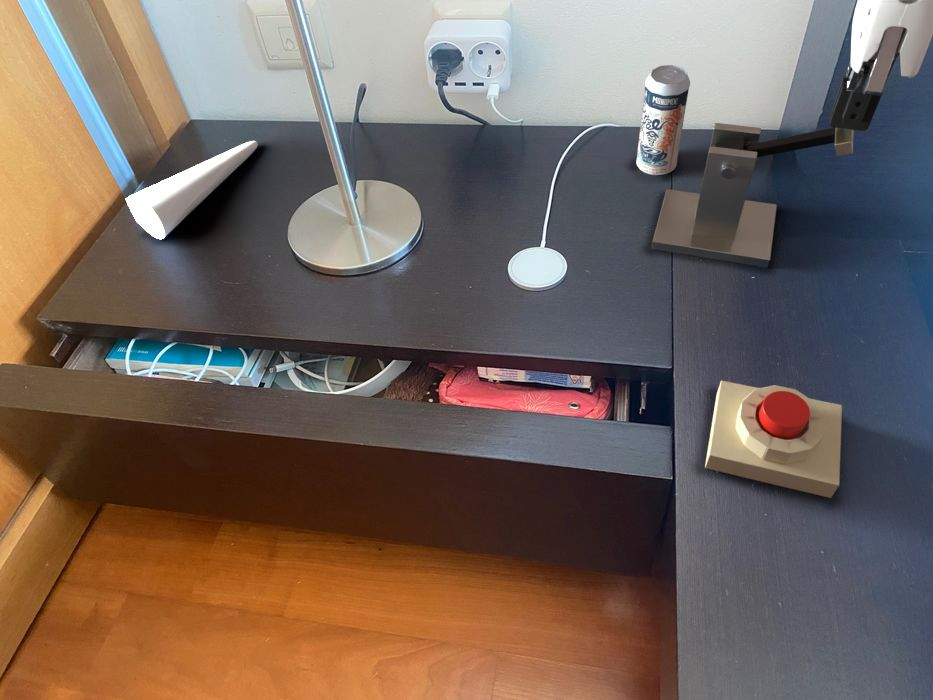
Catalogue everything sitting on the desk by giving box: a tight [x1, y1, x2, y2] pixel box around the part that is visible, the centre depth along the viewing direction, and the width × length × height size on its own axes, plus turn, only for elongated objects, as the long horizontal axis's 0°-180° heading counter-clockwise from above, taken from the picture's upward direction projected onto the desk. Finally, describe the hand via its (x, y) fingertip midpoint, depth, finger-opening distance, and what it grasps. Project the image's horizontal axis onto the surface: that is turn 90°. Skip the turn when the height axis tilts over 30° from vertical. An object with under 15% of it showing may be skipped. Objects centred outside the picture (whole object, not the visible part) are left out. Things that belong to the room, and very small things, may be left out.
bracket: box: [651, 122, 778, 269], centre depth 75 cm, size 12×9×12 cm
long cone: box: [125, 140, 259, 240], centre depth 90 cm, size 6×6×19 cm
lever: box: [715, 127, 855, 158], centre depth 69 cm, size 12×5×2 cm, turn 71°
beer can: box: [635, 64, 691, 176], centre depth 83 cm, size 5×5×12 cm
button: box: [758, 391, 810, 439], centre depth 59 cm, size 4×4×2 cm
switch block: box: [704, 380, 843, 499], centre depth 61 cm, size 10×8×4 cm
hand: (847, 123), depth 65 cm, fingers closed
